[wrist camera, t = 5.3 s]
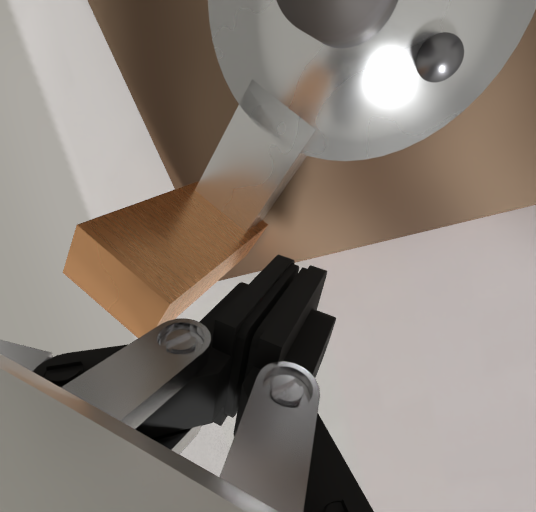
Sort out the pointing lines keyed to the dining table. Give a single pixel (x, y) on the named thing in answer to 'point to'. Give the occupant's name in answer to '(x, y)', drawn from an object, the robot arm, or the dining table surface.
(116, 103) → the dining table surface
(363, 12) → the walnut board
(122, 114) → the dining table surface
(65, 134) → the dining table surface
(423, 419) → the dining table surface
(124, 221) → the crank handle
